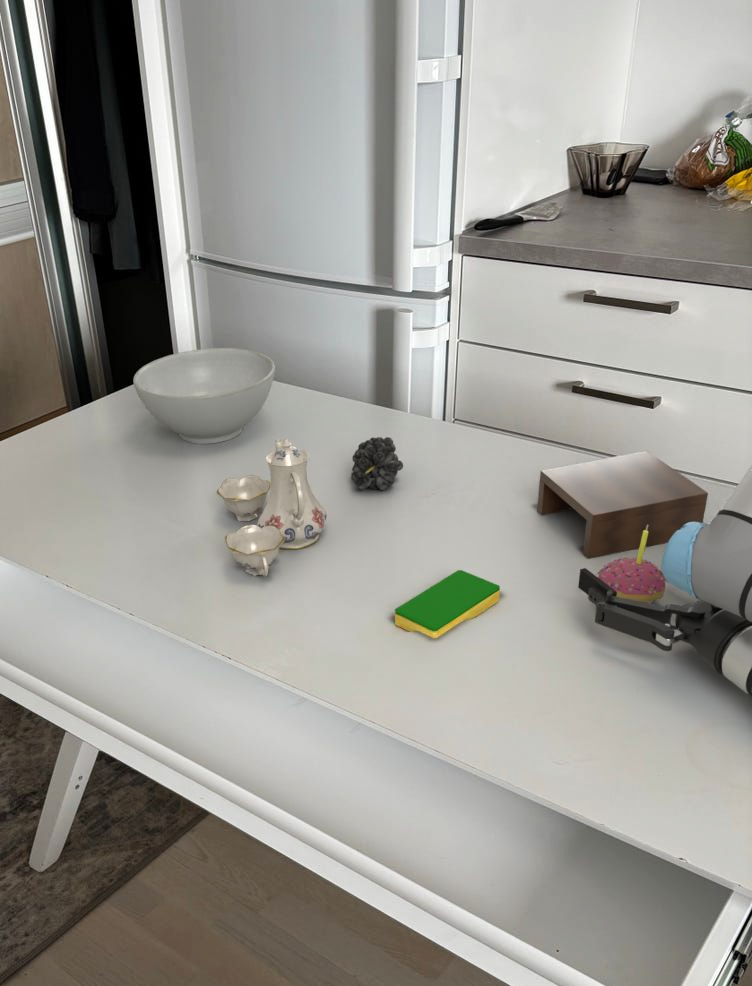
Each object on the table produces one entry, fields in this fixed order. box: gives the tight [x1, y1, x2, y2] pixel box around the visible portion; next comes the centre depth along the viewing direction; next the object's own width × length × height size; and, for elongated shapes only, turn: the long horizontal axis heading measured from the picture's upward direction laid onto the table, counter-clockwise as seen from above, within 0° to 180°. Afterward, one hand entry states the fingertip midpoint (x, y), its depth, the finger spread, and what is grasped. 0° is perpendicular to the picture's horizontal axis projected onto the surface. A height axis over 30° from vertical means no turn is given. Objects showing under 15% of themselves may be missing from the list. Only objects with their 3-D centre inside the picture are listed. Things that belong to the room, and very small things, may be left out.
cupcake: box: [597, 525, 667, 607], centre depth 126 cm, size 9×8×12 cm
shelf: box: [536, 450, 709, 559], centre depth 147 cm, size 18×16×7 cm
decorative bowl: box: [132, 347, 276, 445], centre depth 188 cm, size 27×27×12 cm
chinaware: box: [216, 438, 327, 577], centre depth 149 cm, size 28×17×17 cm, turn 12°
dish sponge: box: [394, 569, 501, 639], centre depth 132 cm, size 7×14×2 cm, turn 132°
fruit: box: [350, 436, 404, 491], centre depth 166 cm, size 9×8×15 cm
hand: (626, 564), depth 127 cm, fingers open, 13 cm apart
